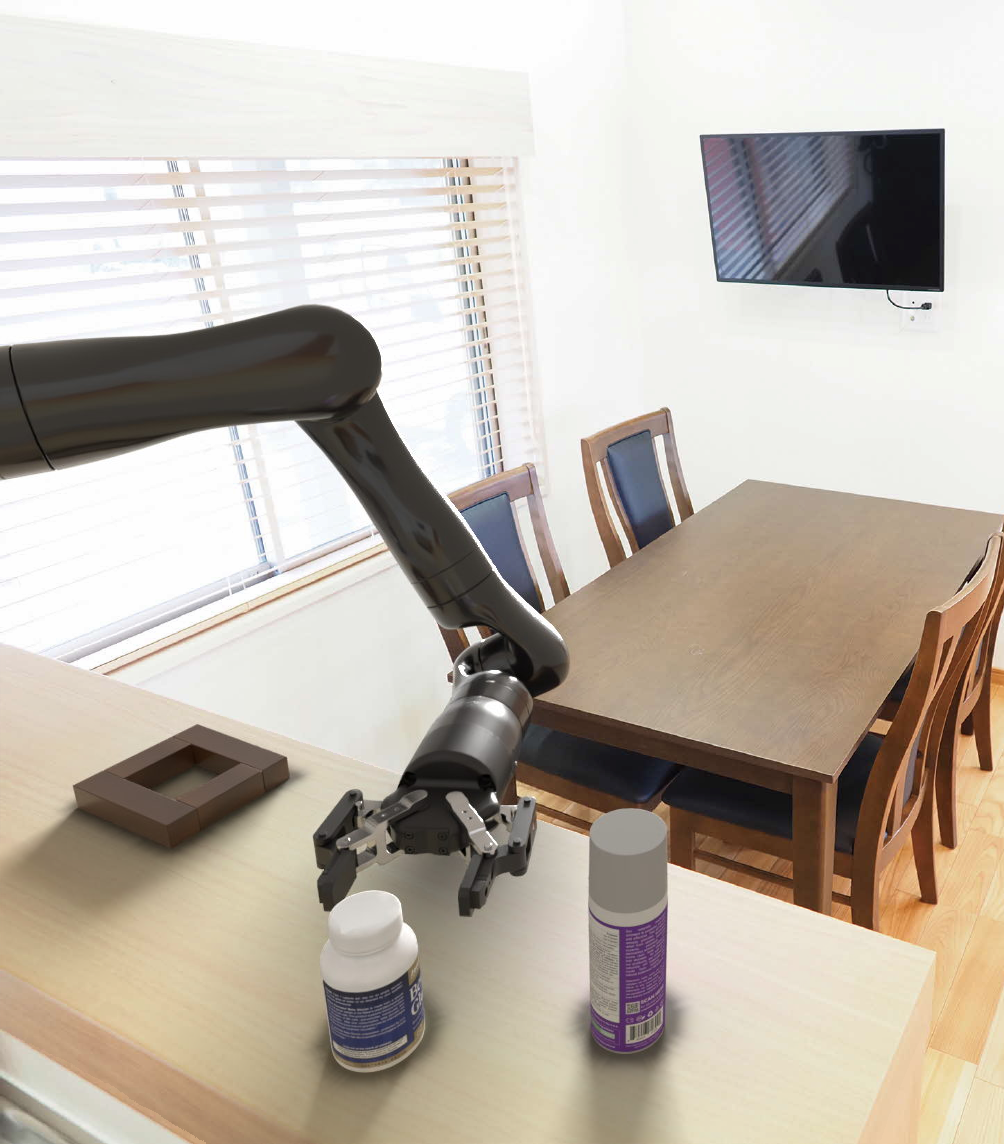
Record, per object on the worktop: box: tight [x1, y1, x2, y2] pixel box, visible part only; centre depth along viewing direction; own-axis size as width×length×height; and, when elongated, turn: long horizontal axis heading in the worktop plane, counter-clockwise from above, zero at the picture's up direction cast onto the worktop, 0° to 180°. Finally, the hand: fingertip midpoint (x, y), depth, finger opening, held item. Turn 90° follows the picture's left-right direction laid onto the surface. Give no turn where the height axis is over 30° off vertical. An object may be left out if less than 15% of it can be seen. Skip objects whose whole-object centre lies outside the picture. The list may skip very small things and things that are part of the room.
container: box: [587, 807, 669, 1055], centre depth 58 cm, size 5×5×15 cm
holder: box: [72, 723, 291, 850], centre depth 80 cm, size 11×11×2 cm
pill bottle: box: [319, 890, 426, 1073], centre depth 58 cm, size 5×5×10 cm
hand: (396, 903), depth 61 cm, fingers open, 8 cm apart
